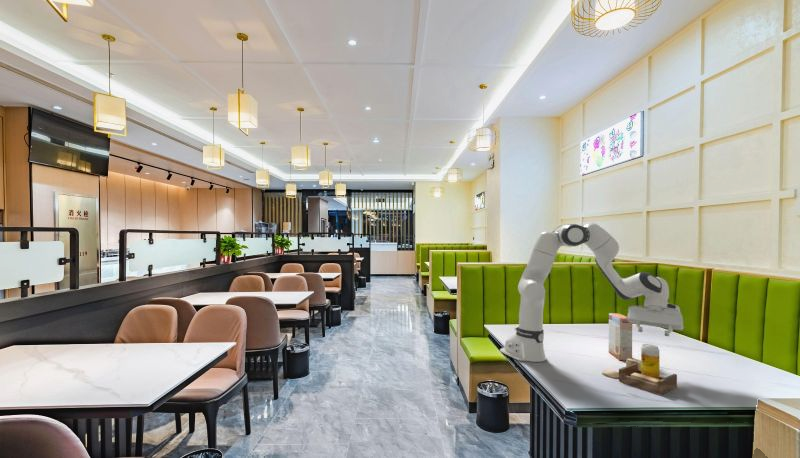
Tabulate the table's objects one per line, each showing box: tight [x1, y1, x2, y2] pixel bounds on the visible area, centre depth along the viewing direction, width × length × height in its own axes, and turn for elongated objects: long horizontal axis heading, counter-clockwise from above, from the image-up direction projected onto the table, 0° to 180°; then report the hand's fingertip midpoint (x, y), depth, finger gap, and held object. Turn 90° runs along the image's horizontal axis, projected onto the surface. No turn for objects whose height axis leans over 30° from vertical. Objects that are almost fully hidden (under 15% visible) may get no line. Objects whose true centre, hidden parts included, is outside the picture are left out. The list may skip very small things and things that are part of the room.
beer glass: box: [640, 343, 661, 380], centre depth 141 cm, size 6×6×15 cm
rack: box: [618, 363, 678, 396], centre depth 140 cm, size 15×14×5 cm
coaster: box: [601, 369, 619, 380], centre depth 149 cm, size 8×8×1 cm
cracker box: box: [608, 312, 633, 362], centre depth 174 cm, size 14×6×21 cm, turn 168°
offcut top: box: [625, 358, 641, 370], centre depth 158 cm, size 6×4×3 cm
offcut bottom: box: [631, 373, 659, 385], centre depth 137 cm, size 9×4×4 cm, turn 35°
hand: (653, 333), depth 150 cm, fingers open, 8 cm apart
